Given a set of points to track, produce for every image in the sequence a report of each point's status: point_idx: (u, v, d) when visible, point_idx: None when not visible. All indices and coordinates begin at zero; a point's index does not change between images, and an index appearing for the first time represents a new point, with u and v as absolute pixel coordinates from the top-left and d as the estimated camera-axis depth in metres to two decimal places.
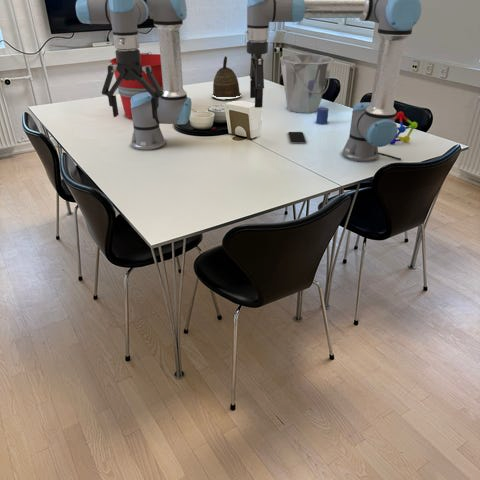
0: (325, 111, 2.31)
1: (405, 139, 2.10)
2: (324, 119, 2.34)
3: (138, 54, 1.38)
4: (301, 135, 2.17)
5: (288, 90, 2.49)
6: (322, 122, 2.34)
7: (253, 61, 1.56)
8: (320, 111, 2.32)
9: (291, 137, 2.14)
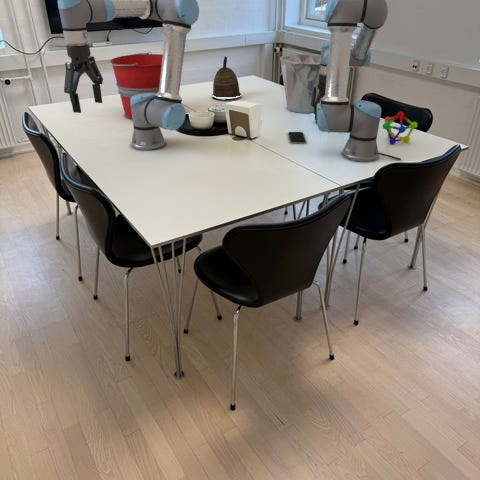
0: None
1: (405, 139, 2.10)
2: None
3: None
4: (301, 135, 2.17)
5: (288, 90, 2.49)
6: None
7: None
8: None
9: (291, 137, 2.14)
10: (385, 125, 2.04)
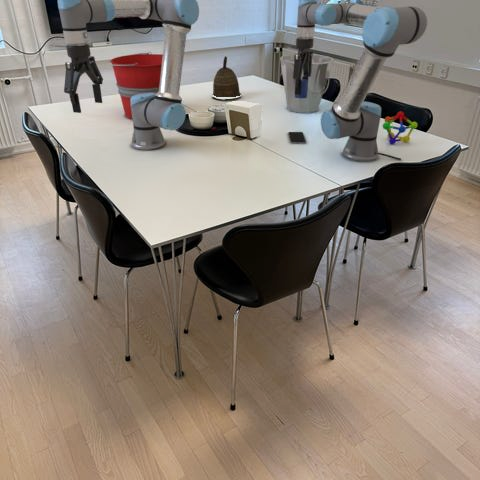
0: (307, 82, 1.99)
1: (405, 139, 2.10)
2: (306, 92, 2.01)
3: None
4: (301, 135, 2.17)
5: (288, 90, 2.49)
6: (305, 95, 2.01)
7: None
8: (303, 83, 1.97)
9: (291, 137, 2.14)
10: (385, 125, 2.04)
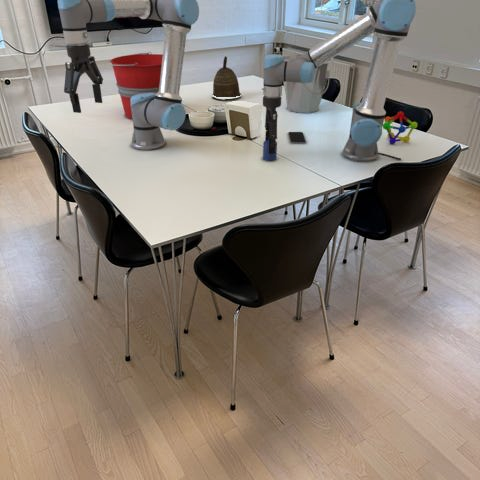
0: None
1: (405, 139, 2.10)
2: None
3: None
4: (301, 135, 2.17)
5: (288, 90, 2.49)
6: None
7: (268, 113, 1.80)
8: None
9: (291, 137, 2.14)
10: (385, 125, 2.04)
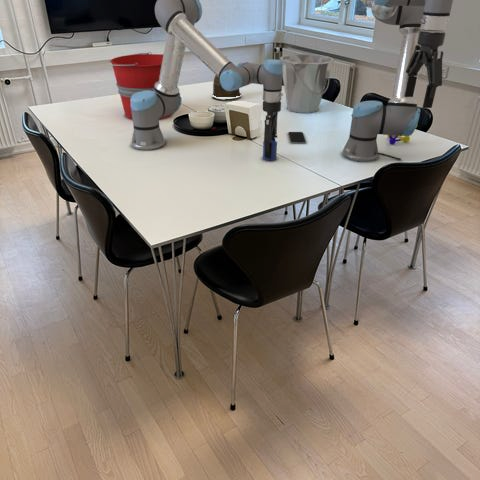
0: None
1: (405, 139, 2.10)
2: None
3: None
4: (301, 135, 2.17)
5: (288, 90, 2.49)
6: None
7: (426, 54, 1.35)
8: (275, 145, 1.88)
9: (291, 137, 2.14)
10: None
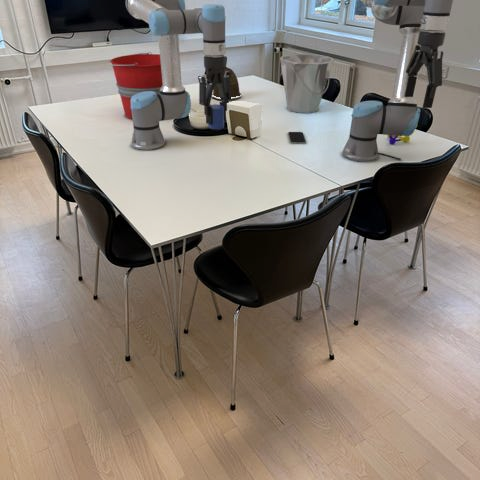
0: (223, 109, 1.61)
1: (405, 139, 2.10)
2: (223, 121, 1.63)
3: None
4: (301, 135, 2.17)
5: (288, 90, 2.49)
6: (222, 125, 1.63)
7: (426, 54, 1.35)
8: (218, 110, 1.59)
9: (291, 137, 2.14)
10: None
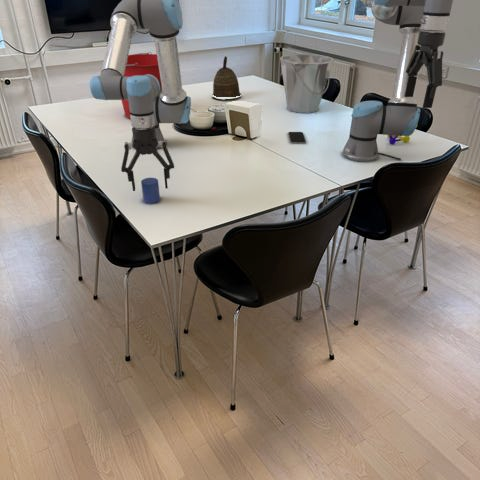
0: (154, 185, 1.53)
1: (405, 139, 2.10)
2: (155, 196, 1.55)
3: (155, 130, 1.45)
4: (301, 135, 2.17)
5: (288, 90, 2.49)
6: (153, 201, 1.56)
7: (426, 54, 1.35)
8: (146, 186, 1.53)
9: (291, 137, 2.14)
10: None
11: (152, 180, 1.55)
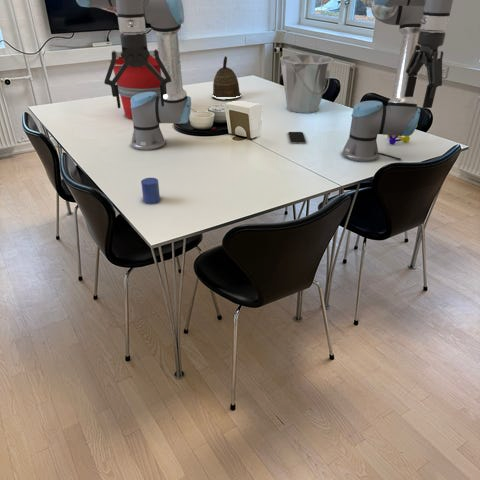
0: (154, 185, 1.53)
1: (405, 139, 2.10)
2: (155, 196, 1.55)
3: (146, 38, 1.30)
4: (301, 135, 2.17)
5: (288, 90, 2.49)
6: (153, 201, 1.56)
7: (426, 54, 1.35)
8: (146, 186, 1.53)
9: (291, 137, 2.14)
10: None
11: (152, 180, 1.55)
